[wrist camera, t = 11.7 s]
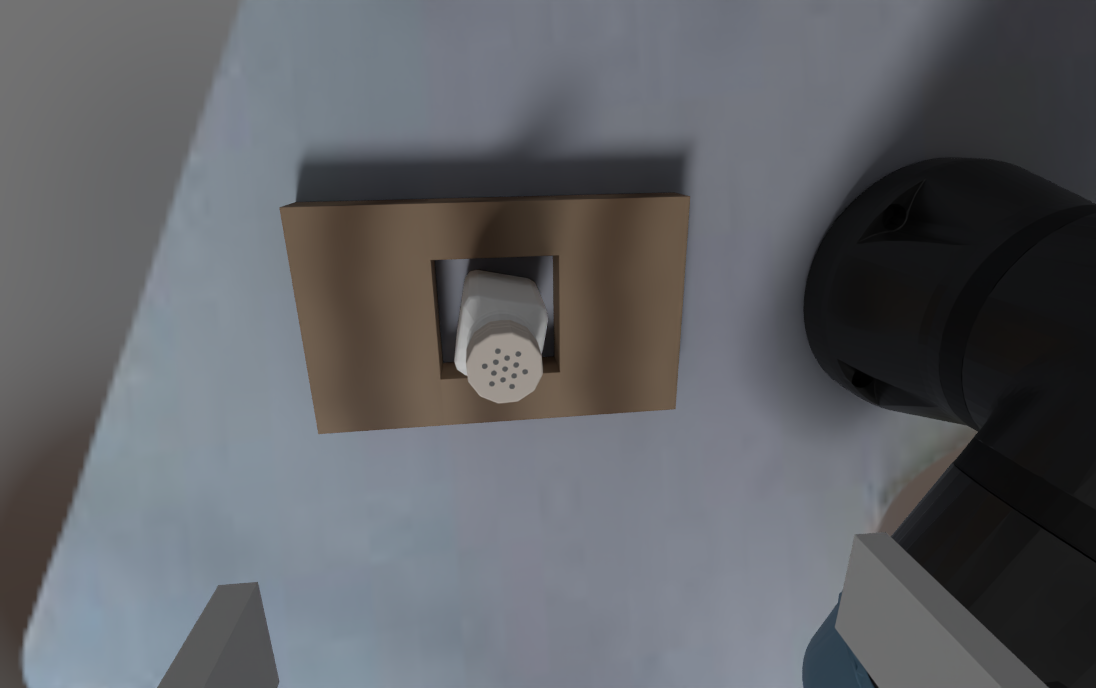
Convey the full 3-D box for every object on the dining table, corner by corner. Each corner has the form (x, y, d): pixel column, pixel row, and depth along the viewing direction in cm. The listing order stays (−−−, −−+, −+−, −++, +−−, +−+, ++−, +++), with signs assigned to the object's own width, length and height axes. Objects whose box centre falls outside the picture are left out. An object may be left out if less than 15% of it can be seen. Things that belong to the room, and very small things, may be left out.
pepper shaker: (537, 277, 32) (562, 330, 23) (524, 343, 33) (543, 418, 24) (466, 265, 31) (463, 315, 22) (456, 333, 32) (449, 406, 23)
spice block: (673, 192, 31) (690, 196, 29) (661, 391, 35) (675, 409, 33) (295, 202, 29) (279, 207, 26) (329, 413, 33) (318, 434, 30)
